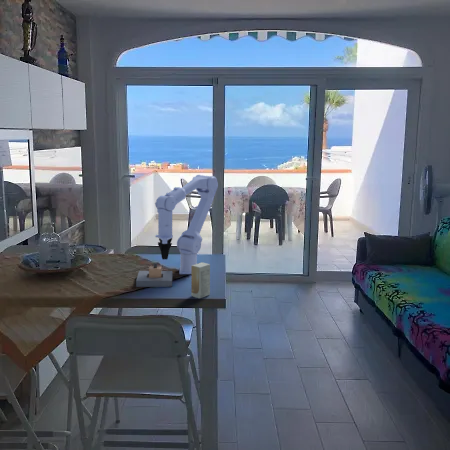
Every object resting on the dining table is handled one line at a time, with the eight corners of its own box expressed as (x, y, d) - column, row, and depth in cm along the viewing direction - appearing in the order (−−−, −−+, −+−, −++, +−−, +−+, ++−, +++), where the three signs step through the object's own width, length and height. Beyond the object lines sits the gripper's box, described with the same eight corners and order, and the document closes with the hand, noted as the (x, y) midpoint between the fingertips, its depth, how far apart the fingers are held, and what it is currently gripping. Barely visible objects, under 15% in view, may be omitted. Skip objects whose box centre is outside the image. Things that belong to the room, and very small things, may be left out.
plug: (149, 280, 200) (149, 262, 199) (161, 280, 201) (161, 262, 200) (148, 283, 196) (148, 265, 195) (161, 283, 197) (161, 265, 196)
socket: (139, 276, 205) (139, 270, 204) (172, 276, 206) (172, 270, 206) (136, 286, 191) (136, 280, 191) (171, 286, 192) (171, 280, 192)
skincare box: (201, 292, 186) (202, 261, 184) (210, 294, 184) (211, 263, 182) (190, 296, 182) (190, 264, 179) (198, 299, 179) (199, 267, 177)
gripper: (156, 221, 205) (156, 252, 208) (154, 228, 191) (154, 261, 194) (173, 221, 206) (172, 252, 209) (172, 228, 192) (172, 261, 194)
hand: (165, 256), depth 201 cm, fingers open, 7 cm apart
